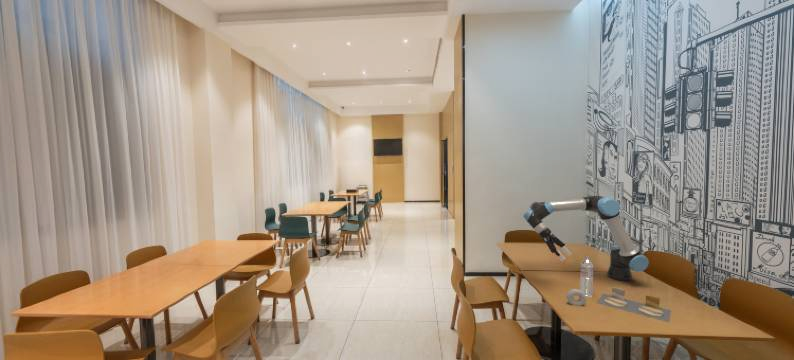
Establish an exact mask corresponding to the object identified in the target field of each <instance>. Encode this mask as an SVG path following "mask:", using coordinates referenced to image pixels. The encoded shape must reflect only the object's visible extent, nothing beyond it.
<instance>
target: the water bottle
mask: <svg viewBox="0 0 794 360" xmlns="http://www.w3.org/2000/svg"><path fill="white" fill-rule="evenodd" d="M594 267H595V265H594V263H593V262H592V260H591V259H590V257H589V256H585V259H583V260H582V261H581V262H580V277H579V278H580V279H579V290H581V291H582V292H583V293H584V294H585V296H586V298H589V299H590V298H593V296H594V295H593V293H594Z"/></svg>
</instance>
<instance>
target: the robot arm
mask: <svg viewBox="0 0 794 360" xmlns="http://www.w3.org/2000/svg"><path fill="white" fill-rule="evenodd" d="M529 205H530V206H529V208H530V209H529V210H528V211H526V212H525V213H524V214H523V218H524V220H525V221H526V222H527V223H528V224H529V226H530V227H531V228H532V229H533V230H534V232H536V233H537V234H538V237H540V238H541V239H542V240H543V241H544V242H545V244H546V246H547V247H548V249H549V251H550V252H551V254H555V256H556V257H557V258H558V259H559V260H560V261H561V262H563V261H564V260H566V257H564V255H563V254H562V253H561V252H560V251H559V249H557V248H556V246H558V247H560V249H561V250H562V251H563V253H564V254H565V255H566V256H567V257H570V256H571V255H572V252H571V251H570V250H569V249H568V248H567V247H566V243H564V242H563V241H562V240H560V239H559V238H558V237H557V236H556V235H555V234H554V233H552V230H551V229H550V228H549V227H548V226H547V224H546V223H544V221H542V220H544V219H545V218H546V217H548V216H550V215H551V214H553V213H555V212H567V211H579V210H580V211H582V212H583V211H584V212H586V211H589V212H594V213H597V215H598V216H599V218H600V220H602V221H604V222H605V224H606V226H607V228H608V230H609V232H610V233H611V235H612V238H613V239H614V241H615V243H616V245H611V246H610V256H609V257H610V259H609V260H610V262H609V267H608V269H607V272H606V276H607V277H608V278H610V279H612V280H615V281H621V282H631V281H634V278H633V277H634V276H633V274H632V271H634V272H638V273H639V272H643V271H645V270H646V269H647V268H648V266H649V264H650V261H649V259H648V258H647V256H646V255H643V253H642V252H641V250H640V248H639V247H637V246H635V244H634V243H633V241H632V239H631V237H630V235H629V233H628V231H627V230H626V228H625V227H626V226H625V225H624V224H623V222H622V220H621V218H620V215H621V212H620V209H621V207H620V206H621V205H620V203H619V201H617V200H616V199H615V198H612V197H610V196H601V195H592V196H591V195H590V196H584V197H579V198H575V199H563V200H552V201H541V202H538V201H534V202H531V203H530V204H529ZM555 245H556V246H555Z"/></svg>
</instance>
